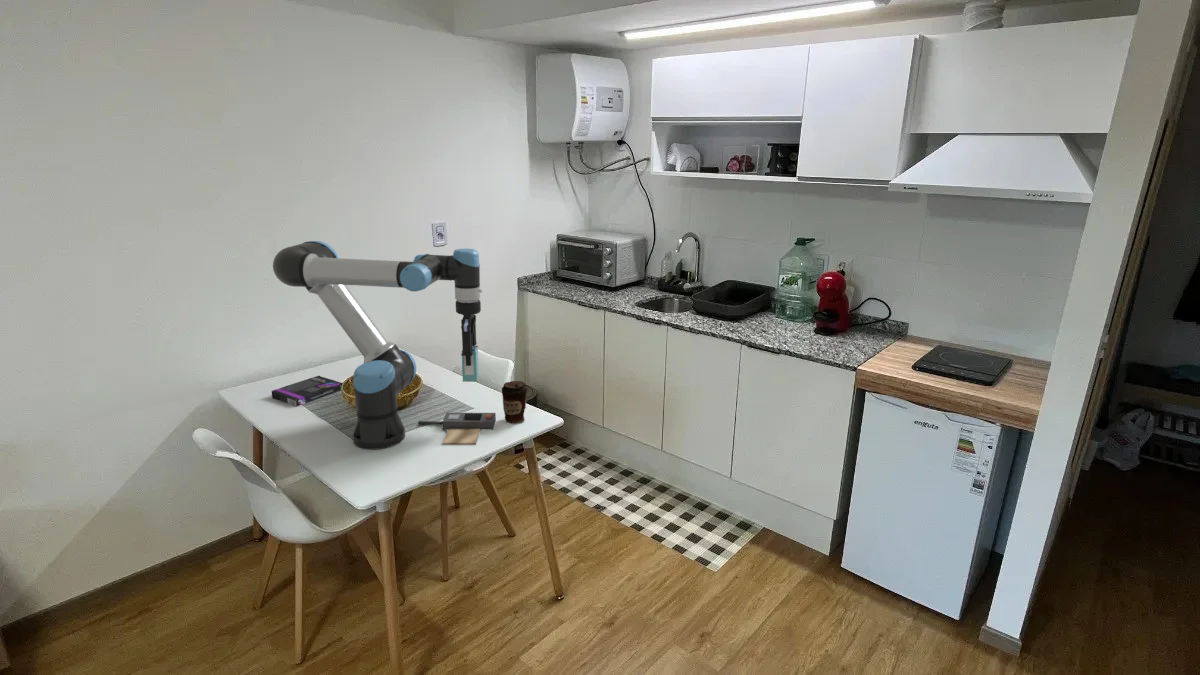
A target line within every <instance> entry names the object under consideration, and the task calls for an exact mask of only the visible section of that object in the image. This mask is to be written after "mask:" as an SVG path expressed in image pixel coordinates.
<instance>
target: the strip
mask: <svg viewBox="0 0 1200 675" xmlns="http://www.w3.org/2000/svg"><path fill="white" fill-rule="evenodd" d="M496 414H497V413H496V412H445V415H444V417H443V420H441V421H440V420H439V421H438V420H437V421H436V420H433V421H431V420H426V421H425V420H419V421H418V422H417V425H419V426H442V430H447V431H448V429H480V431H482V430H483V431H486V430H489V431H490V430H491V431H492V430H494V429H495V426H496V425H495V424H496V421H497V420H496V419H497V418H496V417H497V416H496Z"/></svg>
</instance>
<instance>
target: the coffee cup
mask: <svg viewBox="0 0 1200 675" xmlns="http://www.w3.org/2000/svg"><path fill="white" fill-rule="evenodd" d="M527 393H528V386H527V384H526V382H524V381H521V380H520V381H519V380H512V381H507V382H504V383H503V386H502V387H501V396H502V406H503V412H504V421H505V423H508V424H511V425H516V424H522V423H524V422H525V420H526V419H525V416H524V414H525V410H526V407H527Z"/></svg>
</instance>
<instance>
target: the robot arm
mask: <svg viewBox="0 0 1200 675" xmlns="http://www.w3.org/2000/svg"><path fill="white" fill-rule="evenodd" d="M479 254H480V253H479V252H478V250H476V249H474V248H457V249H454V250H453V254H452V255H444V254H443V255H441V254H429V253H425V254H417V255H415V257H414V259H413V260H412V261H405V260H403V261H402V260H383V259H382V260H380V259H364V258H363V259H362V258H341V257H340V258H339V256H338V253H337V252H336V251H335V249H334V248H333V247H332V246H331V245H330V244H328V243H326V242H323V241H321V240H320V241H318V240H309V241H307V240H306V241H304V242H302V243H299V244H294V245H292V246H287V247H285V248H283V249H281V250H280V251H278V252H277V254H276V255H275V257H274V258H273V261H272V269H273V273H274V275H275V277H276V278H277V279H278V281H279V282H281V283H282V284H284V285H286V286H289V287H296V288H297V287H302V288H305V289H306V290H307V291H308V293H309V294H310V293H311V294H315V295H317V296H318V297H319V298H318V299H320V300H321V301H322V303H323V304H324V305H325V307H326V308H327V310H328V311H329V312H330V314H331V315H332V316H333V317H334V319H335V320H336V321H337V323H338V324H339V325H340V327H341V328H342V329H343V331H344V332H345V333H346V335H347V337H348V338H349V339H350V340H351V342H352V343H353V345H354V346H355V348H357V350H358V351H359V352H360V353H361V355H362V356H363V363H362V364H359V365H358V366H357V367H356V368H355V370H354V372H353V381H352V383H353V389H354V390H353V391H354V398H355V408H356V421H355V425H354V429H353V433H352V441H353V444H354V445H355V446H356V447H357V448H360V449H363V450H365V449H366V450H380V449H386V448H390V447H392V446H395V445H397V444H400V443H401V442H402V441H403V440H404V439H405V437H406V430H405V429H406V428H405V426H404V423H403V422H402V419H401V417H400V415H399V413H398V403H397V401H398V400H397V396H398V395H399V394H400V393H401V392H402V391H403V390H404V389H405V388H407V387H408V386H410V384H411V383H412V381H413V380H414V378H415V377H416V374H417V364H416V361H415V359H414V357H413V355H411V353H409V352H408V351H406V350H402V349H400V348H399V347H398V345H397V344H396V343H395V342H390V341H388V340H387V339H386V337H385V336H384V335H383V333H382V331H381V330H380V329H379V328H378V327H377V325H376V324H375V323H374V321H373V320H372V318H371V317H370V315H368V313H367V312H366V310H365V308H364V307H363V306H362V305H361V304H360V303H359V301H358V299H357V298H356V297H355V295H354V294H353V293H352V292H351V290H350V288H349V287H348V286H356V287H357V286H358V287H361V286H364V287H380V288H381V287H384V288H403V289H406V290H407V291H410V292H414V293H415V292H420V291H423V290H425V289H426V288H428V287H430V285H432V284H434V283H435V282H437V281H454V300H456V301H455V312H456V313H457V314H458V315H462V319H460V320H461V321H460V322H461V325H460V328H461V339H462V340H461V342H462V345H461V346H462V350H463V353H462V352H461V357H462V356H464V368H465V375H474V364H473V353H472V346H476V347H478V348H479V346H478V345H477V323H476V322H477V315H478V314H479V313H481V311H482V309H481V308H482V307H481V304H482V303H481V300H480V299H481V293H482V292H483V290H482V289H481V283H480V282H481V279H480V275H481V274H480V273H481V272H480V270H481V269H480V268H481V267H480V266H481V264H480V257H479Z"/></svg>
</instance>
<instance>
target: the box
mask: <svg viewBox="0 0 1200 675" xmlns="http://www.w3.org/2000/svg"><path fill="white" fill-rule="evenodd" d="M343 383H344V382H341V381H338V380H337V381H336V380H334V379H331V378H327V377H324V376H321V375H316V376H313V377H310V378H306V379H304V380H300V381H297V382H294V383H291V384H288V385H286V386H282V387H280V388H276V389H273V390H271V398H272V399H274V400H275V401H279V402H282V403H285V404H289V405H291V406H294V407H300V406H302V405H305V404H308V403H311V402H314V401H316V400H318V399H322V398H323V397H326V396H330V395H332V394H335V393H337V392H340V391H342V390H341V386H342V384H343Z"/></svg>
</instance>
